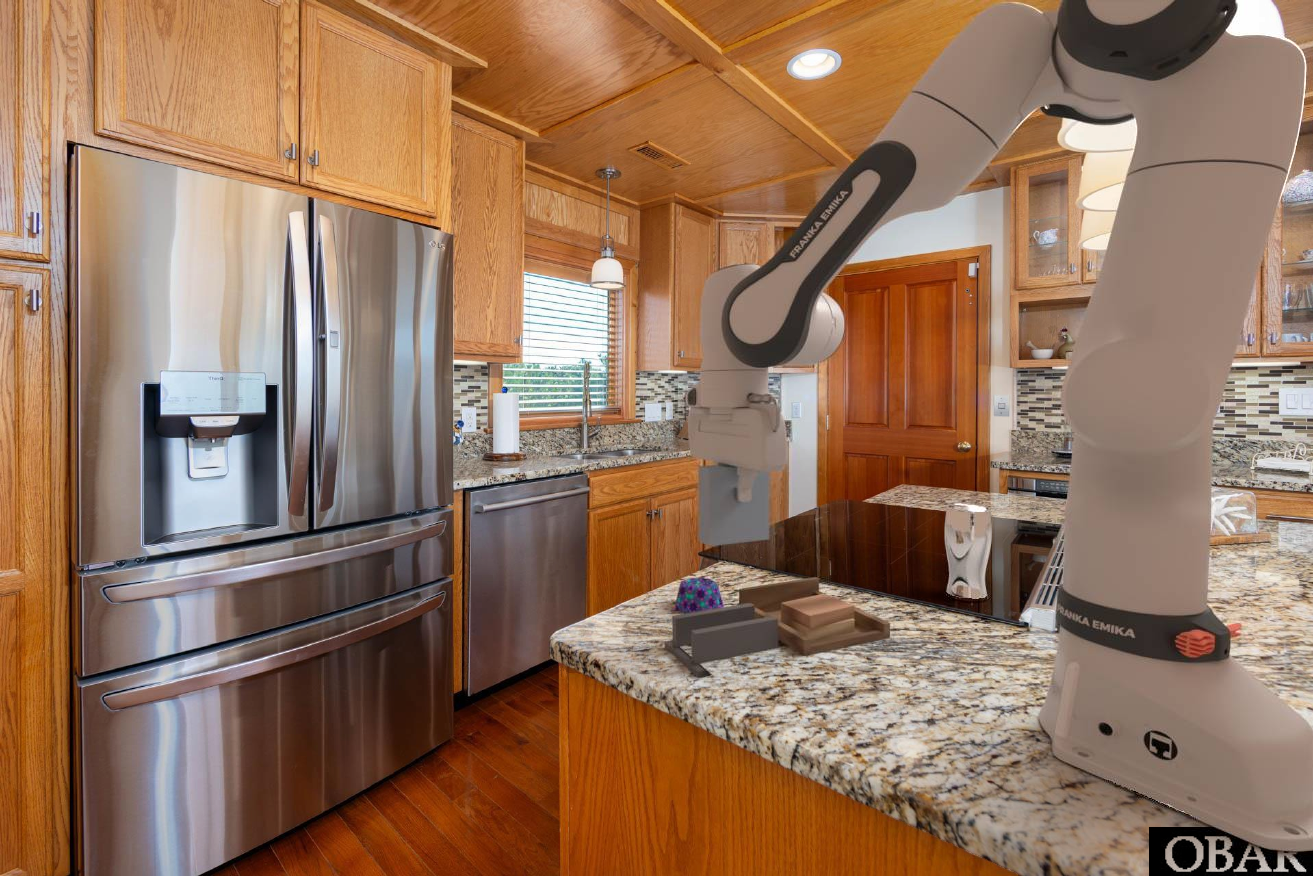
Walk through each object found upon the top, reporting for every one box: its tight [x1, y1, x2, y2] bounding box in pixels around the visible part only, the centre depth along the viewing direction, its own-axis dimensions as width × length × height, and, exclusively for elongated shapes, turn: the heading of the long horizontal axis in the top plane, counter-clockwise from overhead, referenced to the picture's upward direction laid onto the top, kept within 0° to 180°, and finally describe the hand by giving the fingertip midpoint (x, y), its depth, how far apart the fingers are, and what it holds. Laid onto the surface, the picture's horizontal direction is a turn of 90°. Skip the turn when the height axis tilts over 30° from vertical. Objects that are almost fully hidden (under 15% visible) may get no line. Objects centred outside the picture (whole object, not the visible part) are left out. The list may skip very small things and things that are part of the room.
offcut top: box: [781, 593, 855, 629], centre depth 87 cm, size 6×8×2 cm
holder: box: [664, 603, 779, 679], centre depth 82 cm, size 10×13×5 cm
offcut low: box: [781, 616, 855, 641], centre depth 87 cm, size 6×8×2 cm
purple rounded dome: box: [674, 577, 725, 614], centre depth 97 cm, size 12×12×5 cm
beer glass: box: [944, 503, 993, 599], centre depth 103 cm, size 7×7×15 cm
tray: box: [738, 576, 891, 657], centre depth 89 cm, size 16×14×5 cm
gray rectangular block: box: [697, 464, 771, 547], centre depth 82 cm, size 3×9×10 cm, turn 112°
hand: (734, 498), depth 82 cm, fingers closed on gray rectangular block, 3 cm apart
